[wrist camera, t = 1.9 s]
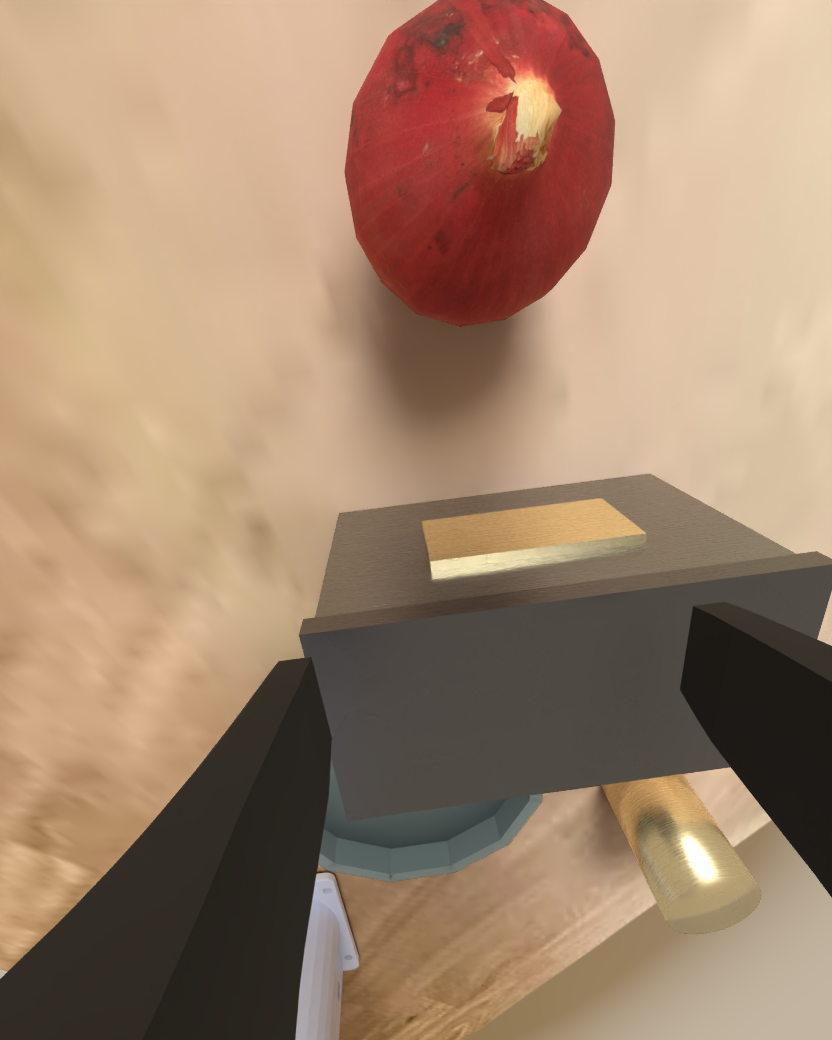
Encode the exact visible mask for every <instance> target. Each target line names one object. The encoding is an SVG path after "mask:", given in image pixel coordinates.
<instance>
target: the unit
mask: <svg viewBox="0 0 832 1040" xmlns="http://www.w3.org/2000/svg"><path fill="white" fill-rule="evenodd" d="M831 591H832V559H830V558H829V557H827V556H825V555H823V554H821V553H819V552H817V551H816V552H808V553H801V554H795V553H794V552H792V551H790V550H788V549H786V548H784V547H783V546H781V545H779V544H777V543H775V542H774V541H772V540H770V539H768V538H766V537H764V536H763V535H761V534H759V533H757V532H755V531H754V530H752V529H750V528H748V527H746V526H744V525H743V524H741V523H739V522H737V521H735V520H733V519H732V518H730V517H728V516H726V515H724V514H723V513H721V512H719V511H717V510H715V509H713V508H712V507H710V506H708V505H706V504H704V503H703V502H701V501H699V500H697V499H695V498H693V497H692V496H690V495H688V494H686V493H684V492H683V491H681V490H679V489H677V488H675V487H673V486H672V485H670V484H668V483H666V482H664V481H663V480H661V479H659V478H657V477H655V476H653V475H652V474H645V475H637V476H629V477H621V478H613V479H605V480H598V481H590V482H582V483H574V484H566V485H558V486H551V487H543V488H535V489H527V490H519V491H511V492H504V493H496V494H488V495H480V496H472V497H464V498H456V499H449V500H441V501H433V502H425V503H417V504H409V505H402V506H394V507H386V508H378V509H370V510H362V511H355V512H347V513H339V516H338V520H337V524H336V529H335V533H334V538H333V542H332V546H331V551H330V555H329V559H328V564H327V568H326V572H325V577H324V581H323V586H322V590H321V594H320V599H319V603H318V607H317V612H316V616H315V618H309V619H303V622H302V626H301V630H300V633H299V637H300V641H301V645H302V648H303V652H304V656H305V658H308V657H312V661H313V665H314V669H315V673H316V677H317V681H318V685H319V689H320V693H321V697H322V700H323V704H324V708H325V712H326V716H327V720H328V724H329V728H330V732H331V736H332V744H331V760H332V764H333V768H334V772H335V775H336V779H337V783H338V787H339V791H340V795H341V799H342V802H343V806H344V810H345V814H346V818H347V821H353V820H360V819H367V818H374V817H381V816H388V815H395V814H403V813H410V812H417V811H424V810H431V809H438V808H445V807H452V806H459V805H466V804H473V803H480V802H487V801H494V800H502V799H509V798H516V797H523V796H530V795H537V794H544V793H551V792H558V791H565V790H572V789H579V788H586V787H594V786H601V785H608V784H615V783H622V782H629V781H636V780H643V779H650V778H657V777H664V776H671V775H678V774H685V773H693V772H700V771H707V770H714V769H721V768H728V767H730V765H729V764H728V763H727V762H726V760H725V759H724V758H723V756H722V755H721V754H720V752H719V751H718V750H717V748H716V747H715V746H714V744H713V743H712V742H711V740H710V739H709V737H708V736H707V734H706V732H705V731H704V729H703V728H702V726H701V725H700V723H699V721H698V720H697V718H696V716H695V715H694V713H693V711H692V710H691V708H690V706H689V704H688V703H687V701H686V699H685V698H684V696H683V694H682V692H681V691H680V685H681V678H682V672H683V666H684V660H685V653H686V647H687V641H688V634H689V628H690V622H691V615H692V609H693V606H696V605H704V604H711V603H719V602H727V603H730V604H733V605H736V606H738V607H741V608H744V609H746V610H749V611H751V612H754V613H756V614H759V615H761V616H763V617H766V618H768V619H770V620H773V621H775V622H778V623H780V624H782V625H784V626H787V627H789V628H791V629H794V630H796V631H798V632H801V633H803V634H805V635H808V636H810V637H812V638H814V639H817V638H818V635H819V631H820V628H821V625H822V621H823V618H824V615H825V611H826V608H827V605H828V601H829V598H830V594H831Z"/></svg>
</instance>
